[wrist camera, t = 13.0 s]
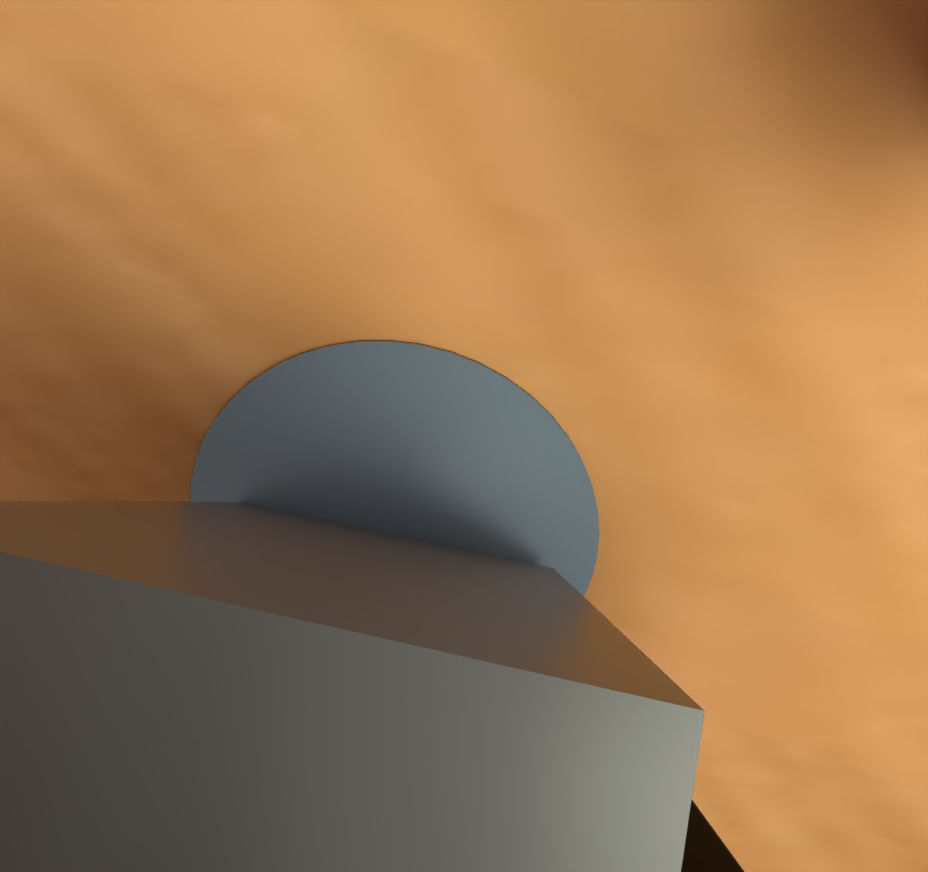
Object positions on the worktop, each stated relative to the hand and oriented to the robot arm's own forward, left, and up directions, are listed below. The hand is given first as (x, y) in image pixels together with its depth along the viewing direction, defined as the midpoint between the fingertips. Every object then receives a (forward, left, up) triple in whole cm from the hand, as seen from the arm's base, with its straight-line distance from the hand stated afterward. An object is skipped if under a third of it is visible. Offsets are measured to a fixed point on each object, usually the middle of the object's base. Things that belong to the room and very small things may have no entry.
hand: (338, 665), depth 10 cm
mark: (0, 0, -4) cm, 4 cm away
